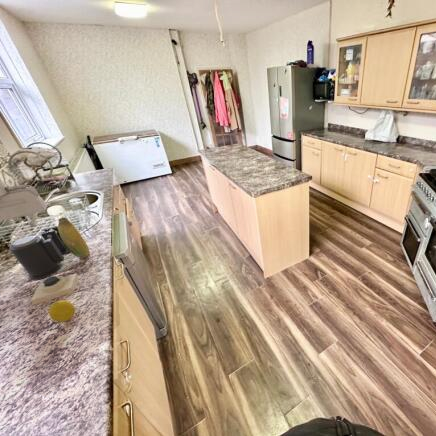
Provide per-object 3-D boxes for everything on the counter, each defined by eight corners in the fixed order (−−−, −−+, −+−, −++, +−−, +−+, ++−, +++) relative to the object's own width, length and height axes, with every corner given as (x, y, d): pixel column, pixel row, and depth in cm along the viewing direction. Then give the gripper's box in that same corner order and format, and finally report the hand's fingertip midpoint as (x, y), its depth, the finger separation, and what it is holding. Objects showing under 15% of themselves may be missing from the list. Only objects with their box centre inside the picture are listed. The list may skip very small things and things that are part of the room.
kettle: (26, 284, 90) (-1, 251, 82) (35, 269, 97) (11, 238, 90) (65, 272, 95) (42, 241, 87) (71, 259, 102) (51, 229, 94)
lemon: (53, 325, 73) (38, 308, 69) (71, 311, 77) (58, 294, 73) (66, 329, 71) (52, 311, 67) (84, 314, 76) (71, 296, 72)
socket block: (34, 304, 80) (27, 296, 78) (42, 288, 87) (36, 280, 85) (73, 292, 85) (68, 284, 83) (79, 277, 92) (73, 269, 90)
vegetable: (95, 255, 104) (73, 216, 94) (79, 264, 99) (53, 224, 89) (89, 252, 107) (66, 213, 97) (73, 260, 102) (47, 220, 92)
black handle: (43, 261, 102) (26, 239, 96) (49, 250, 109) (34, 229, 103) (77, 252, 107) (63, 230, 101) (81, 242, 114) (68, 221, 108)
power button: (44, 288, 82) (41, 284, 81) (47, 281, 85) (45, 278, 84) (57, 284, 84) (54, 280, 83) (60, 278, 86) (57, 274, 86)
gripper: (35, 180, 75) (59, 217, 82) (-59, 196, 67) (-23, 236, 74) (28, 185, 70) (54, 224, 77) (-74, 204, 62) (-35, 246, 69)
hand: (15, 230), depth 75 cm, fingers open, 8 cm apart
